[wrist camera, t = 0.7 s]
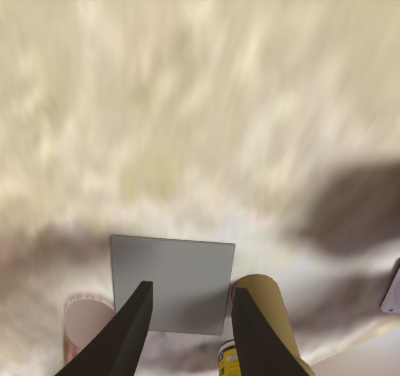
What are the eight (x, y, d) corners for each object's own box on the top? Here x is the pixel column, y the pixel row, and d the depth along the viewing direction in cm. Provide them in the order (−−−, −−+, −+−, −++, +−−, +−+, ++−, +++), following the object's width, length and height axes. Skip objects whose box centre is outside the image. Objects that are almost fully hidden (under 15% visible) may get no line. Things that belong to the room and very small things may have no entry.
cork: (229, 311, 25) (249, 445, 14) (232, 273, 23) (258, 395, 13) (276, 312, 25) (330, 447, 14) (282, 274, 23) (350, 397, 13)
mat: (234, 243, 22) (235, 245, 21) (221, 332, 26) (221, 335, 26) (111, 234, 22) (110, 236, 21) (118, 325, 26) (116, 328, 25)
